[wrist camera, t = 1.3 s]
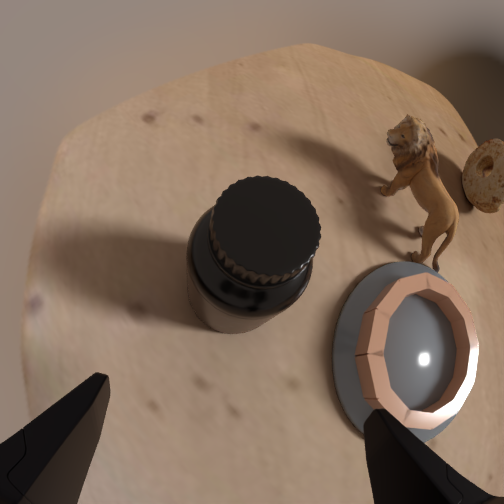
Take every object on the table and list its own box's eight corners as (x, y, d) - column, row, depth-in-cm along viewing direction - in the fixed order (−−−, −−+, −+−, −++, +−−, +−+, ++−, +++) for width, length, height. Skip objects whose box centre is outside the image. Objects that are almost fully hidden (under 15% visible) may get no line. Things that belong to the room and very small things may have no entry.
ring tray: (453, 448, 21) (470, 450, 19) (305, 434, 20) (318, 440, 18) (475, 294, 29) (490, 287, 27) (353, 236, 28) (367, 224, 26)
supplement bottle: (183, 253, 24) (183, 155, 13) (266, 248, 26) (322, 157, 15) (191, 340, 22) (194, 308, 11) (280, 330, 23) (360, 289, 12)
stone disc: (455, 160, 38) (494, 122, 29) (470, 171, 38) (509, 136, 29) (463, 215, 33) (514, 176, 24) (480, 225, 34) (529, 191, 25)
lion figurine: (353, 163, 32) (394, 108, 24) (384, 157, 33) (424, 108, 25) (421, 282, 28) (484, 248, 20) (447, 264, 30) (504, 231, 21)
